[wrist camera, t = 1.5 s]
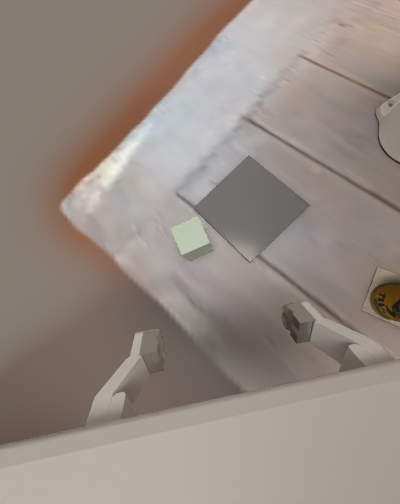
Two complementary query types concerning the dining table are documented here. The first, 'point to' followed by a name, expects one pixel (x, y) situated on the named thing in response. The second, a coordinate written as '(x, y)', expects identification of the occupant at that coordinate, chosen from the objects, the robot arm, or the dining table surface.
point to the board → (250, 208)
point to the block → (191, 239)
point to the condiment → (384, 297)
